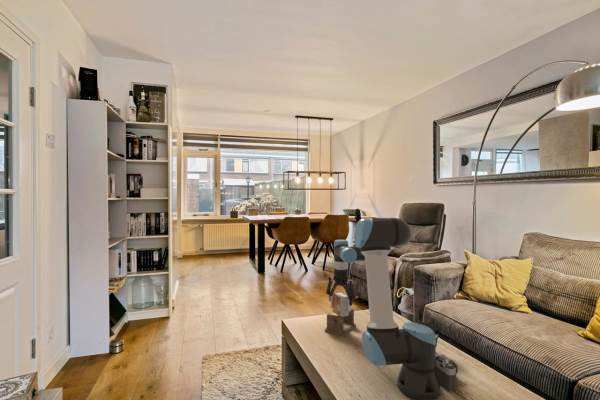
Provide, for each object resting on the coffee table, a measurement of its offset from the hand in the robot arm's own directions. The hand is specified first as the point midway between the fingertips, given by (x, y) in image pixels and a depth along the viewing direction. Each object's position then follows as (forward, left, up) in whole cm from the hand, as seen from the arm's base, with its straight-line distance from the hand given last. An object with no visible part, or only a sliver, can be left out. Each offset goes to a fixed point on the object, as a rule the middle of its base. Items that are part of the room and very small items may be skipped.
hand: (340, 309), depth 173 cm
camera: (-21, -55, -11) cm, 60 cm away
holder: (0, 0, -11) cm, 11 cm away
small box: (0, 0, -3) cm, 3 cm away
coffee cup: (-2, -45, -11) cm, 46 cm away
